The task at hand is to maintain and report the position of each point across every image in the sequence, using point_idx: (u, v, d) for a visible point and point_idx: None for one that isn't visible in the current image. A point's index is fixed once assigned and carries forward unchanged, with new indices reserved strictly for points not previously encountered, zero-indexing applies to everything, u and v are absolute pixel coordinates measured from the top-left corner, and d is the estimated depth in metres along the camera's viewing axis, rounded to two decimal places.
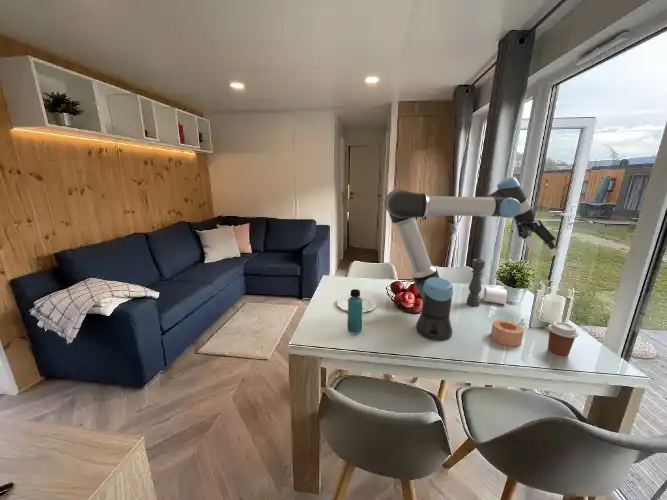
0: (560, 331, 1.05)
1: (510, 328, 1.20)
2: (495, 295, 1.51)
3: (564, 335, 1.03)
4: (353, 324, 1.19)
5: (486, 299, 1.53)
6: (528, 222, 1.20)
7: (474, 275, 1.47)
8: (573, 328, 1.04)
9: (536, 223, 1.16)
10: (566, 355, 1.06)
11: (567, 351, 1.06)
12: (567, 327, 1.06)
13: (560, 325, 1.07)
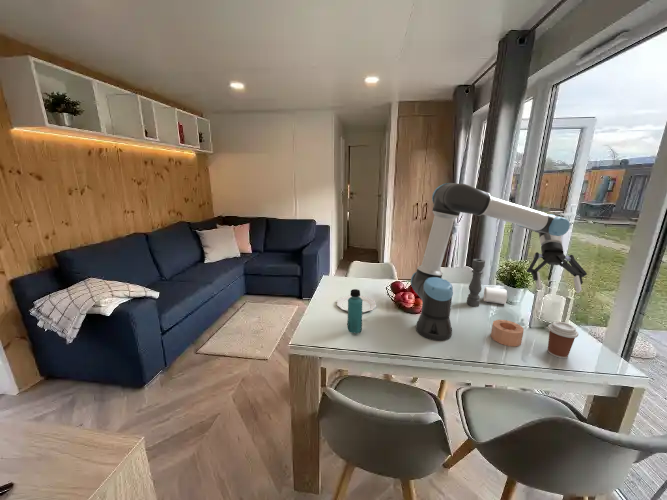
0: (560, 331, 1.05)
1: (510, 328, 1.20)
2: (495, 295, 1.51)
3: (564, 335, 1.03)
4: (353, 324, 1.19)
5: (486, 299, 1.53)
6: (561, 254, 1.20)
7: (474, 275, 1.47)
8: (573, 328, 1.04)
9: None
10: (566, 355, 1.06)
11: (567, 351, 1.06)
12: (567, 327, 1.06)
13: (560, 325, 1.07)
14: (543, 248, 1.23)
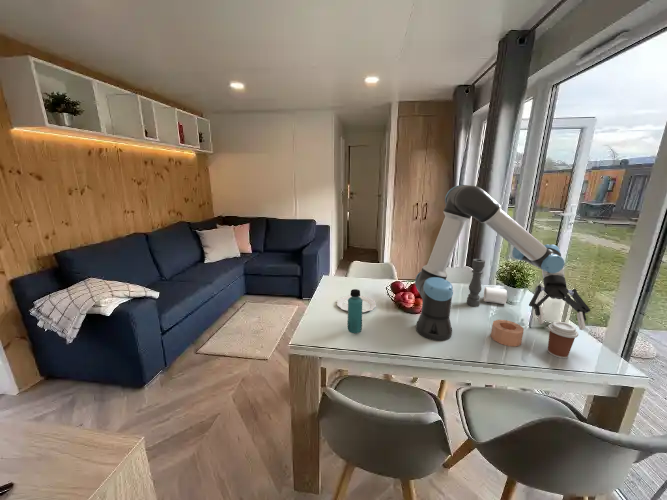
0: (560, 331, 1.05)
1: (510, 328, 1.20)
2: (495, 295, 1.51)
3: (564, 335, 1.03)
4: (353, 324, 1.19)
5: (486, 299, 1.53)
6: (564, 288, 1.17)
7: (474, 275, 1.47)
8: (573, 328, 1.04)
9: None
10: (566, 355, 1.06)
11: (567, 351, 1.06)
12: (567, 327, 1.06)
13: (560, 325, 1.07)
14: (545, 281, 1.20)
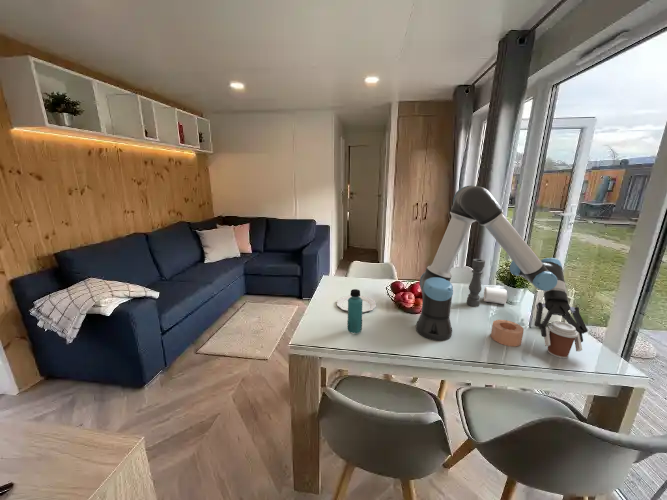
0: (560, 331, 1.05)
1: (510, 328, 1.20)
2: (495, 295, 1.51)
3: (564, 335, 1.03)
4: (353, 324, 1.19)
5: (486, 299, 1.53)
6: (566, 304, 1.12)
7: (474, 275, 1.47)
8: (573, 328, 1.04)
9: None
10: (566, 355, 1.06)
11: (567, 351, 1.06)
12: (567, 327, 1.06)
13: (560, 325, 1.07)
14: (546, 296, 1.15)
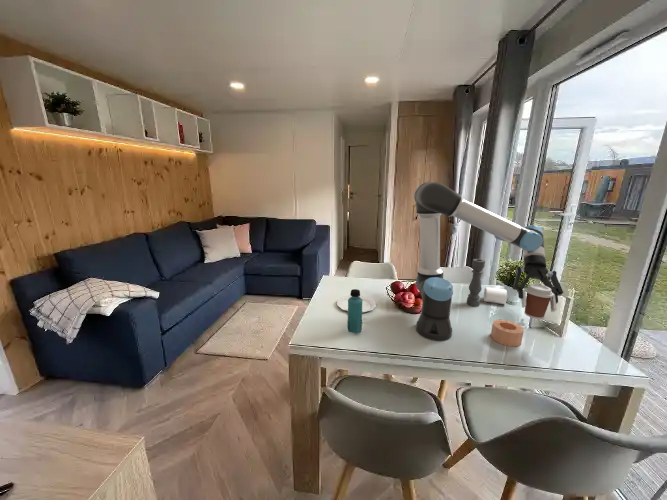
0: (536, 292, 1.07)
1: (510, 328, 1.20)
2: (495, 295, 1.51)
3: (539, 295, 1.06)
4: (353, 324, 1.19)
5: (486, 299, 1.53)
6: (544, 268, 1.14)
7: (474, 275, 1.47)
8: (549, 289, 1.07)
9: None
10: (541, 316, 1.09)
11: (543, 312, 1.08)
12: (543, 288, 1.08)
13: (537, 287, 1.10)
14: (525, 261, 1.17)
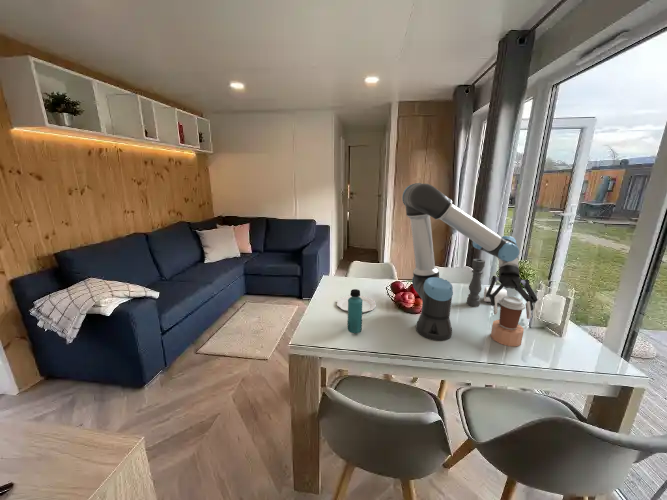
0: (508, 304, 1.13)
1: None
2: None
3: (511, 308, 1.12)
4: (353, 324, 1.19)
5: (486, 299, 1.53)
6: (517, 277, 1.20)
7: (474, 275, 1.47)
8: (520, 301, 1.13)
9: None
10: (514, 327, 1.14)
11: (515, 323, 1.14)
12: (515, 301, 1.14)
13: (509, 299, 1.15)
14: (500, 271, 1.23)
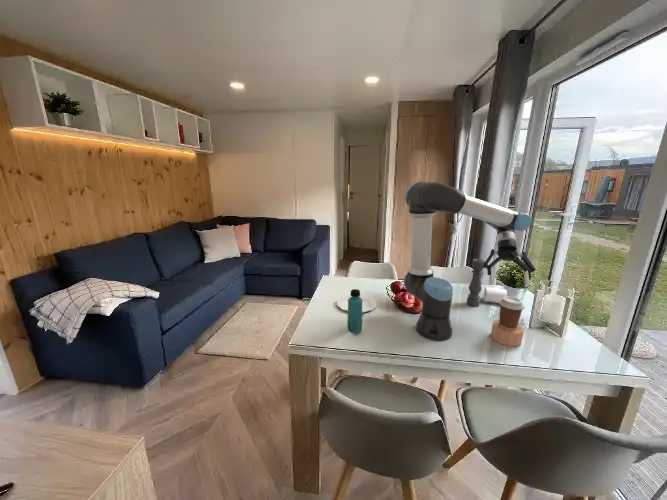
0: (508, 304, 1.13)
1: None
2: (495, 295, 1.51)
3: (511, 308, 1.12)
4: (353, 324, 1.19)
5: (486, 299, 1.53)
6: (514, 251, 1.28)
7: (474, 275, 1.47)
8: (520, 301, 1.13)
9: None
10: (514, 327, 1.14)
11: (515, 323, 1.14)
12: (515, 301, 1.14)
13: (509, 299, 1.16)
14: (499, 245, 1.31)
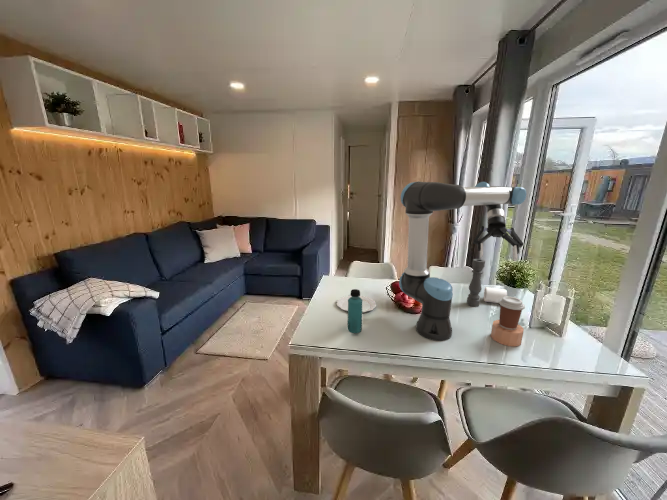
0: (508, 304, 1.13)
1: None
2: (495, 295, 1.51)
3: (511, 308, 1.12)
4: (353, 324, 1.19)
5: (486, 299, 1.53)
6: (503, 227, 1.32)
7: (474, 275, 1.47)
8: (520, 301, 1.13)
9: None
10: (514, 327, 1.14)
11: (515, 323, 1.14)
12: (515, 301, 1.14)
13: (509, 299, 1.16)
14: (488, 222, 1.35)
